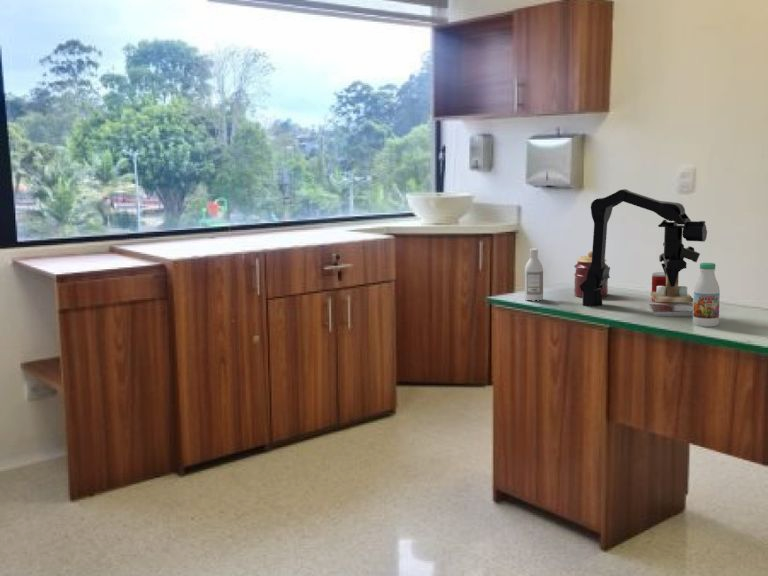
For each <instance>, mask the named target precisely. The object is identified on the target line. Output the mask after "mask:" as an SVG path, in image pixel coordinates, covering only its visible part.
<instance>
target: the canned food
mask: <svg viewBox="0 0 768 576" xmlns="http://www.w3.org/2000/svg"><path fill="white" fill-rule="evenodd" d="M651 275H652V276H651V292H656V290H657V286H666V275H665V273H664V271H661V272H660V271H659V272H657V271H656V272H652V274H651ZM651 302H652V303H655V304H656V303H657V304H673V303H674V302H655V300H654V299H653V298H652V297H651Z"/></svg>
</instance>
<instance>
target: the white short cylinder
mask: <svg viewBox="0 0 768 576" xmlns="http://www.w3.org/2000/svg"><path fill="white" fill-rule="evenodd" d="M656 295H657V296H666V286H657V290H656Z"/></svg>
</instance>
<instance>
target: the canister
mask: <svg viewBox="0 0 768 576" xmlns="http://www.w3.org/2000/svg"><path fill="white" fill-rule="evenodd" d="M576 262H577V263H576V264H575V265H574V266H573V267H574V268H575V271H574V272H575V273H574V274H573V275H574V288H573V292H574V296H576V297H578V298H583V291H581V289H580V285H581V284H582V283H583V282H584V281H585V280H586V277H587V273H588V269H589V267H590V265H591V262H592V251H591V250H590V251H589V252H588V253H587V255H583V256H580V257H579V258H577V259H576ZM605 262H607V259H606V258H605ZM605 265H606V267H609V265H608V264H607V263H605ZM608 285H609V280H607V282H606V283H605V284H604V285H603V287H602V289H600V290H601V293H602V298H605V297H607V296H608V294H609V288H608Z"/></svg>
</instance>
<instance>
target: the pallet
mask: <svg viewBox="0 0 768 576" xmlns="http://www.w3.org/2000/svg"><path fill="white" fill-rule="evenodd" d="M679 273H680V272H679ZM679 273H678V276H677V279H676V282H675V286H674V287H671V286H670V283H669V280H668V277H667V274H666V296H657V295H656V292H652V291H651V292H650V296H651V299H652V298H653V299H654V300H655V302H654V303H656V302H673V303H693V299H694V297H692V296H691V295H690V294H689V293H688V292H687V296H678V286H679V278H680V277H679Z"/></svg>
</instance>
